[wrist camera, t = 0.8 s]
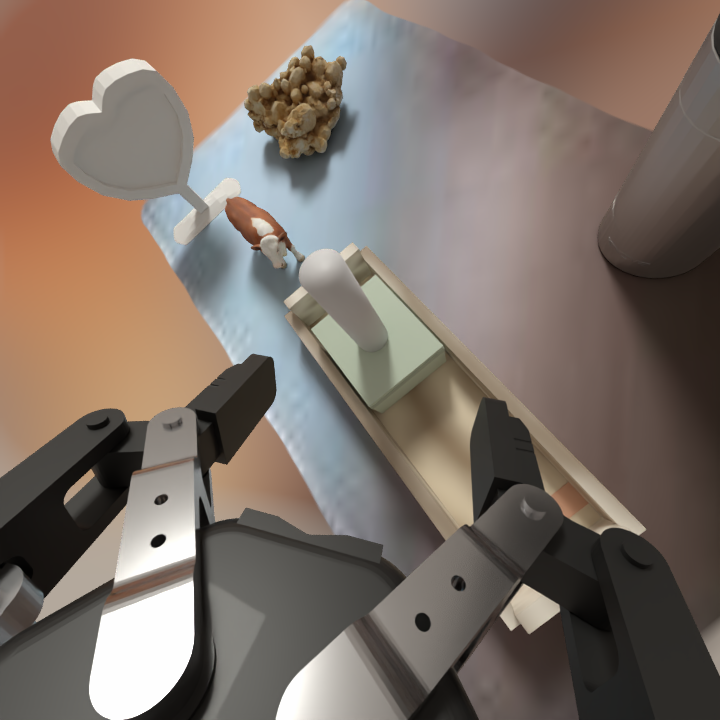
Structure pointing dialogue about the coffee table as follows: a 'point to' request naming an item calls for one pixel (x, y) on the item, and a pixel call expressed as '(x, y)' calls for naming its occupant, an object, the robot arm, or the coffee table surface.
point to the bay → (456, 433)
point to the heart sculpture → (136, 144)
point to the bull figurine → (260, 230)
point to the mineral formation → (299, 104)
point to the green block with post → (369, 331)
